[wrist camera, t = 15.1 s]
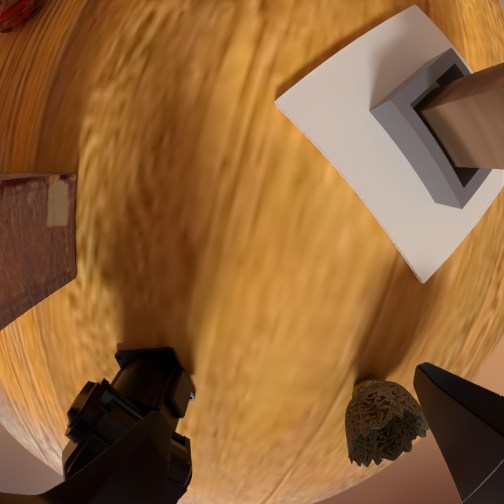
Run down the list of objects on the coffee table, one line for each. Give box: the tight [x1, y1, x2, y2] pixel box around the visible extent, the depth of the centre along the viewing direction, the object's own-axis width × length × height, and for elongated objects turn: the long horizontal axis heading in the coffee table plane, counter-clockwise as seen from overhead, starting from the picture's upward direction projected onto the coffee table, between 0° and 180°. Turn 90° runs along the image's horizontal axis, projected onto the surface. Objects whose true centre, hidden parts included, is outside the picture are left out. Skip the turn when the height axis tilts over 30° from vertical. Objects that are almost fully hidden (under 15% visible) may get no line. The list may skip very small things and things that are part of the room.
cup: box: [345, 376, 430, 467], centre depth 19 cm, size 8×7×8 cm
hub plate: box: [274, 5, 504, 284], centre depth 15 cm, size 18×18×4 cm
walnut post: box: [413, 63, 504, 170], centre depth 10 cm, size 5×5×13 cm
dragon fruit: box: [0, 0, 42, 33], centre depth 9 cm, size 8×8×12 cm
